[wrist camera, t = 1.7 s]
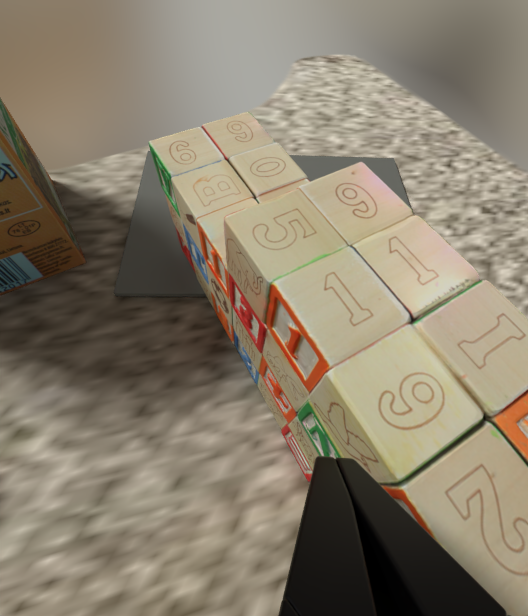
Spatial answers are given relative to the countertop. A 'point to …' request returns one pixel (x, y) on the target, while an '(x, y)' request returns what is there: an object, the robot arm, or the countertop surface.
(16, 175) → the milk carton
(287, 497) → the countertop surface
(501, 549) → the stack of blocks
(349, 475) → the robot arm
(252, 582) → the countertop surface
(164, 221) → the mat
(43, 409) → the countertop surface
